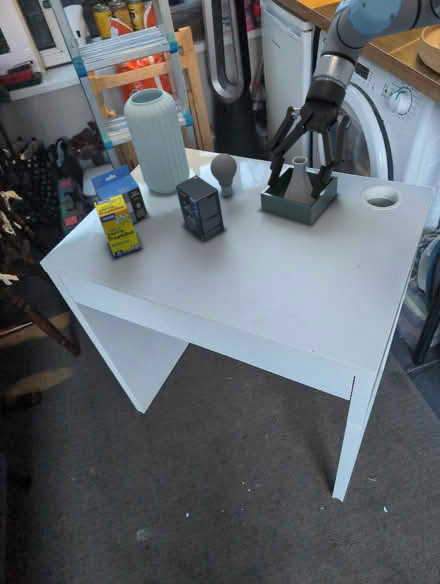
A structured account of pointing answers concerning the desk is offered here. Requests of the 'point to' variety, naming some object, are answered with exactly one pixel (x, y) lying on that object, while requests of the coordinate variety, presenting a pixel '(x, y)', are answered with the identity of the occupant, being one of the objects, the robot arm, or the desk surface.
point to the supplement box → (117, 225)
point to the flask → (300, 183)
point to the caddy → (291, 209)
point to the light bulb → (224, 171)
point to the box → (200, 207)
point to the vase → (157, 139)
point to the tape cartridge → (121, 191)
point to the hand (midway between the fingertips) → (292, 192)
